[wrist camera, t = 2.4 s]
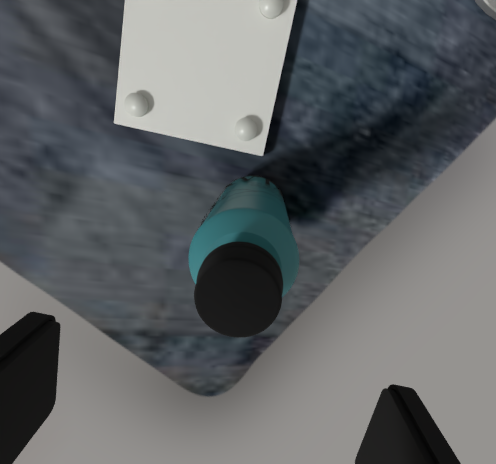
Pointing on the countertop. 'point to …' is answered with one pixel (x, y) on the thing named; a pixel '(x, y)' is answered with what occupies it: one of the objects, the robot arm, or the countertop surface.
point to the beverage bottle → (243, 258)
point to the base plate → (203, 68)
